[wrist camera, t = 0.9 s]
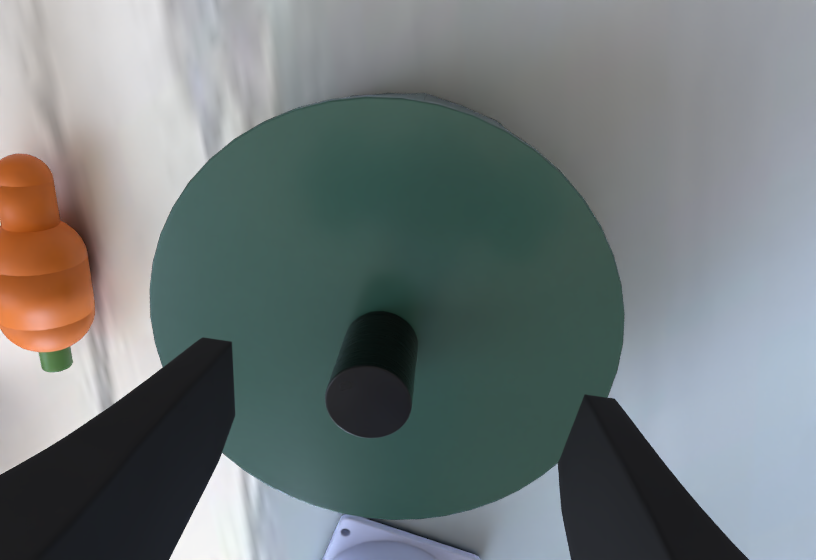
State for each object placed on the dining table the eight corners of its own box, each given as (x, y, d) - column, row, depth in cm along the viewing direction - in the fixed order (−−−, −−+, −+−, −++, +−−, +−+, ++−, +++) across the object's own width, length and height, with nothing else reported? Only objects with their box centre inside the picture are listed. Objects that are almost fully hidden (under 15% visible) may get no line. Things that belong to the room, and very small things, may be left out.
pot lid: (500, 545, 23) (510, 652, 19) (132, 423, 22) (61, 510, 18) (709, 204, 17) (788, 256, 13) (217, 9, 16) (138, 1, 12)
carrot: (117, 349, 27) (74, 392, 24) (43, 341, 27) (-11, 384, 24) (91, 150, 23) (35, 169, 20) (4, 141, 23) (-66, 159, 20)
